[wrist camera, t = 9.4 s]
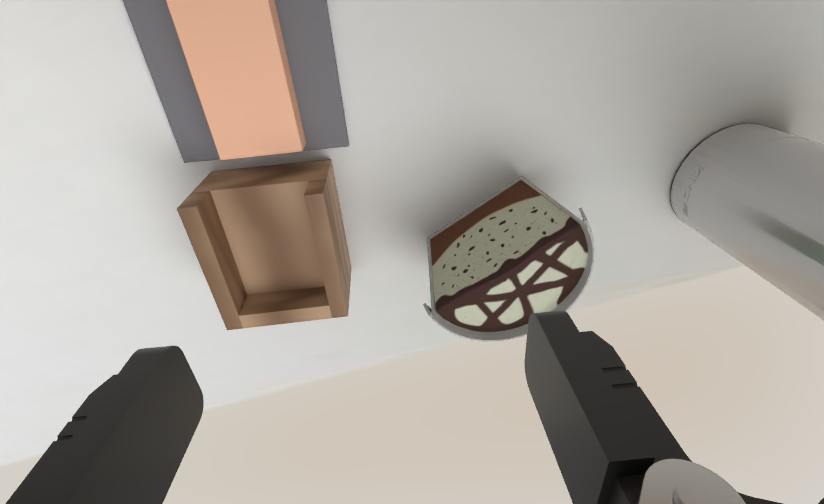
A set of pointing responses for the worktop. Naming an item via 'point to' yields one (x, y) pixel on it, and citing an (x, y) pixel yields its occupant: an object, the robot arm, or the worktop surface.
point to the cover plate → (240, 75)
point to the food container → (507, 264)
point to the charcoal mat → (306, 56)
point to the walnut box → (271, 243)
